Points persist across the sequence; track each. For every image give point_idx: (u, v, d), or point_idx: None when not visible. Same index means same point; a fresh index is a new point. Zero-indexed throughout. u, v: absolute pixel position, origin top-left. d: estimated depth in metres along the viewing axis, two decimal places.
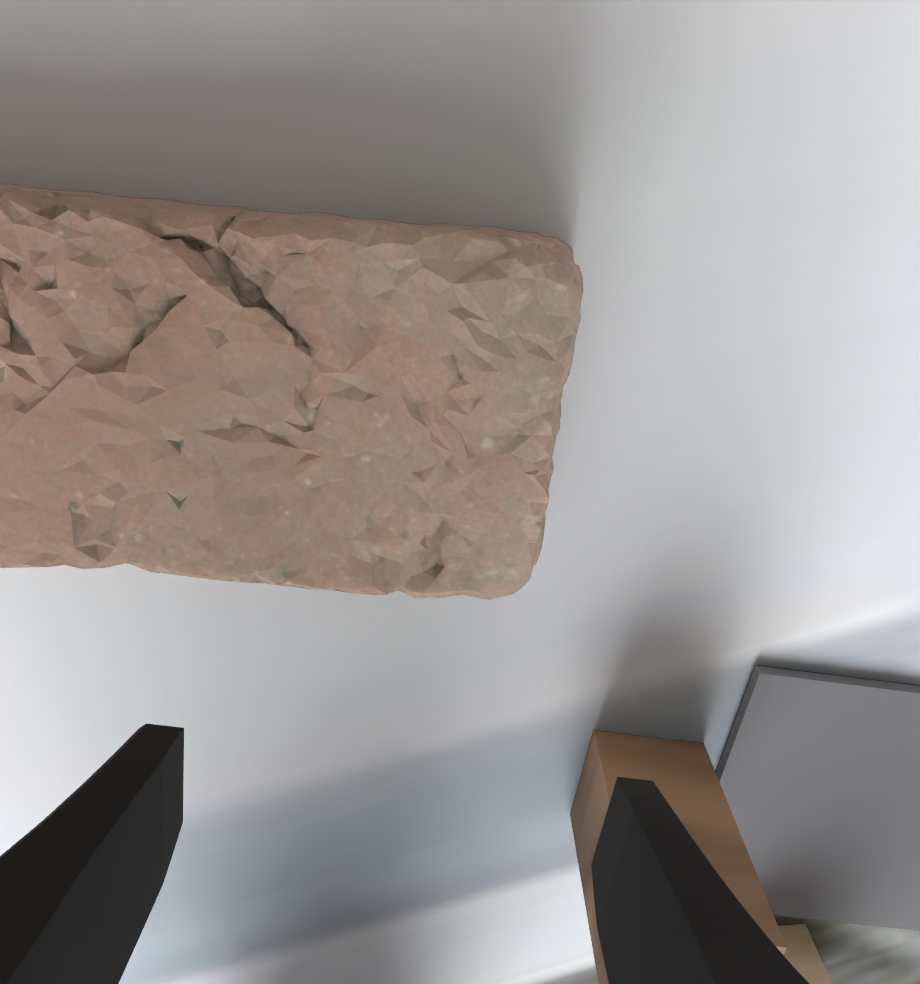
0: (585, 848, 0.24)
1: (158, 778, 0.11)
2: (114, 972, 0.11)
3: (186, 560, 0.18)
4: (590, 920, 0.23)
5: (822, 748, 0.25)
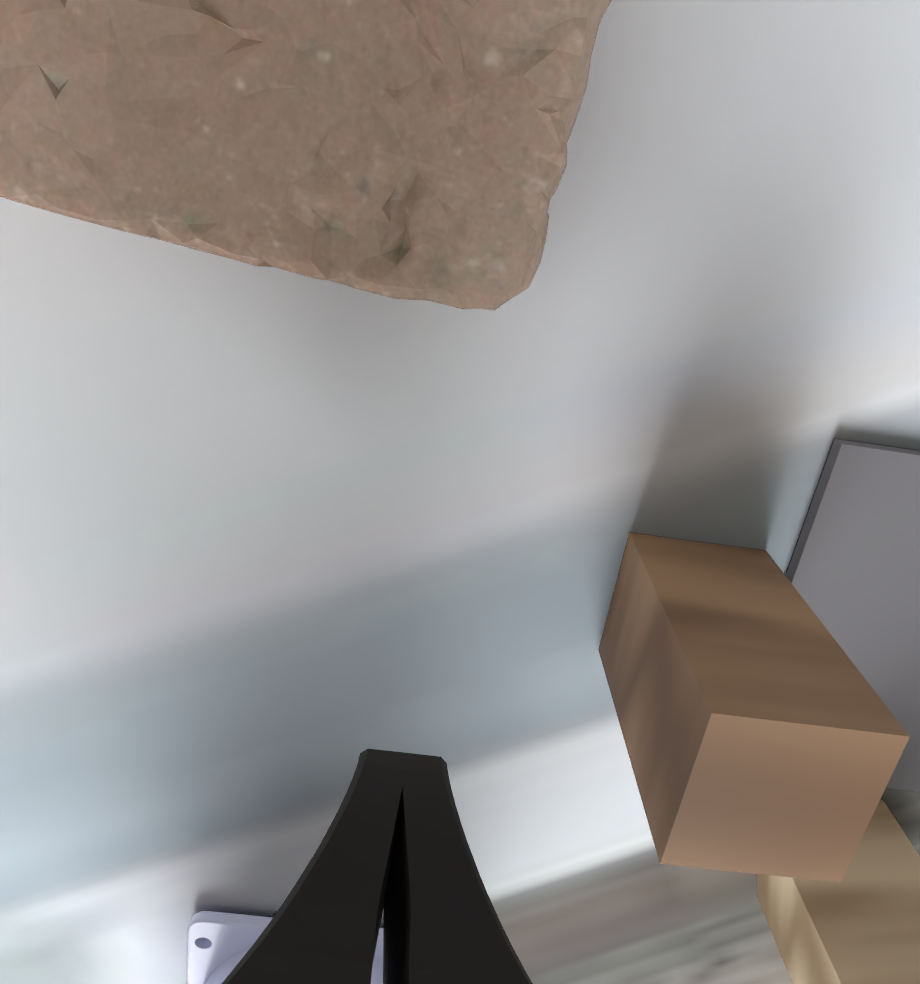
0: (621, 672, 0.19)
1: (398, 804, 0.12)
2: None
3: (58, 185, 0.13)
4: (631, 749, 0.18)
5: (916, 552, 0.20)
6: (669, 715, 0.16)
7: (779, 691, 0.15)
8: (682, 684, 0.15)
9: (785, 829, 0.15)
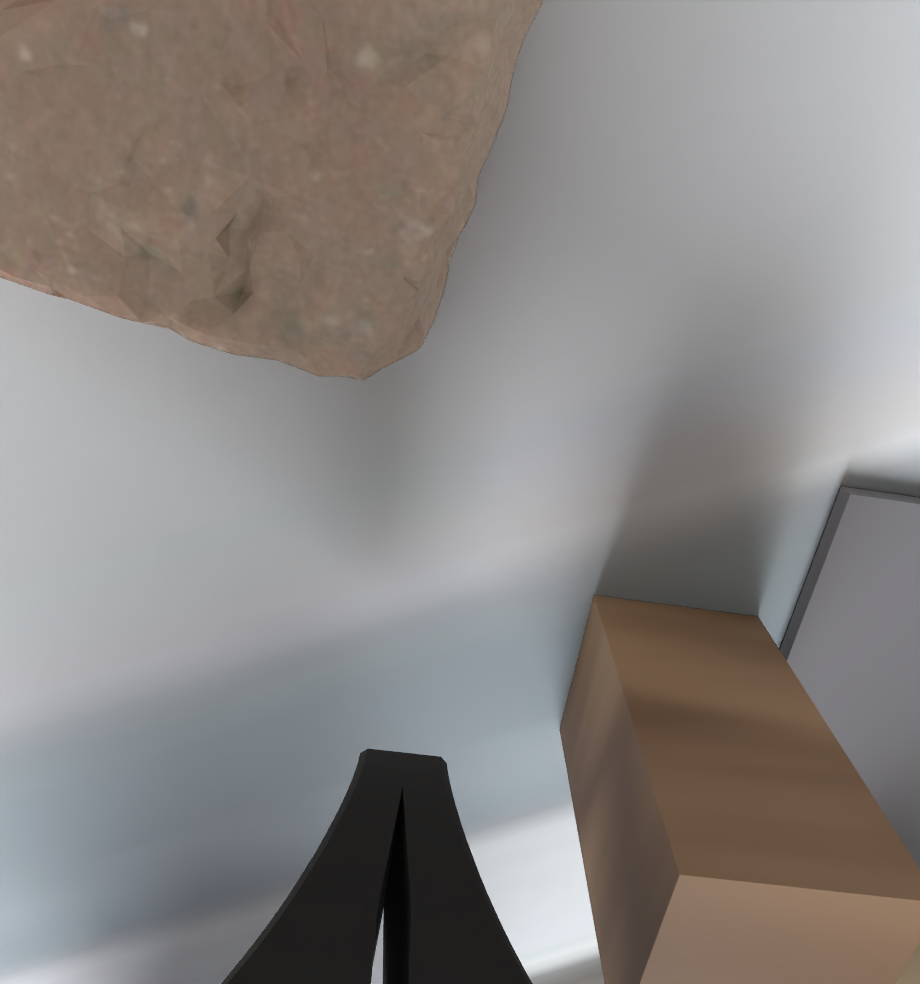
0: (581, 768, 0.16)
1: (398, 804, 0.12)
2: None
3: None
4: (589, 873, 0.14)
5: None
6: (630, 851, 0.12)
7: (770, 834, 0.11)
8: (646, 816, 0.12)
9: None
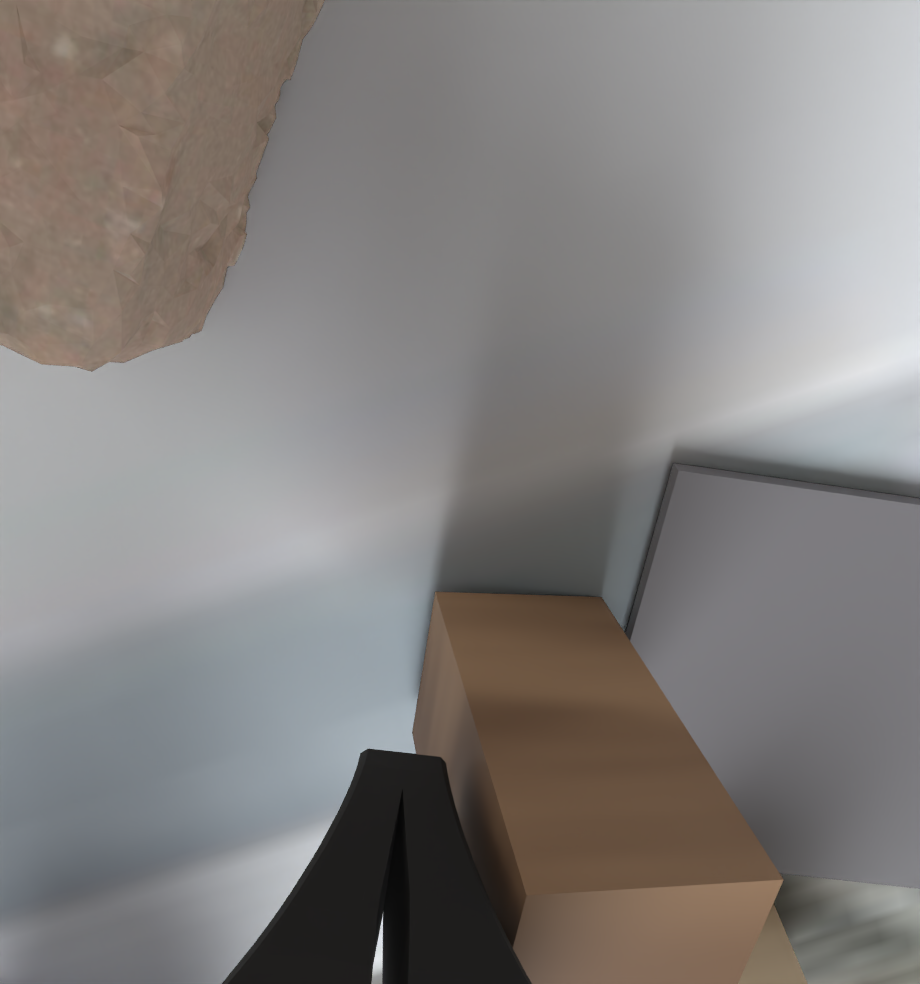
0: None
1: (399, 804, 0.12)
2: None
3: None
4: None
5: (780, 600, 0.16)
6: (481, 867, 0.12)
7: (617, 833, 0.11)
8: (494, 830, 0.11)
9: None
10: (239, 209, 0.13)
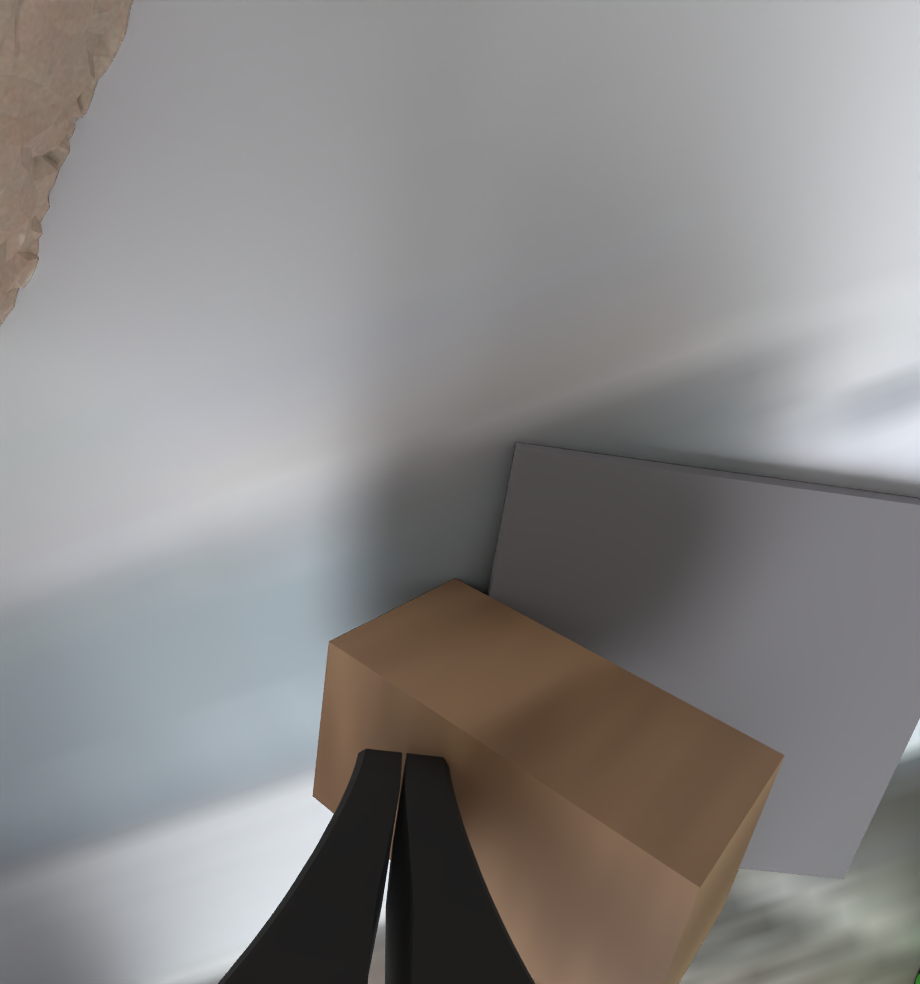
0: None
1: (396, 804, 0.12)
2: None
3: None
4: None
5: (632, 581, 0.16)
6: (574, 886, 0.12)
7: (686, 789, 0.12)
8: (597, 848, 0.11)
9: (709, 915, 0.13)
10: (20, 236, 0.13)
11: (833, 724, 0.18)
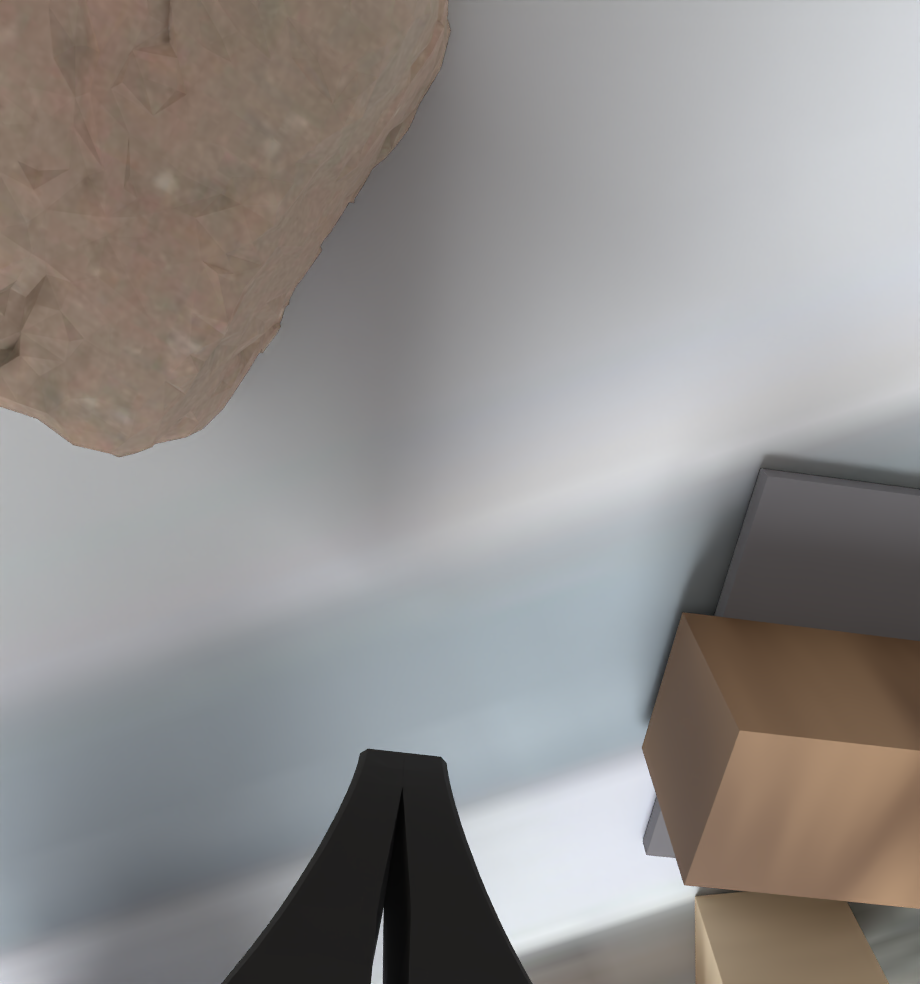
0: (812, 862, 0.14)
1: (398, 804, 0.12)
2: None
3: None
4: (904, 898, 0.15)
5: (865, 604, 0.16)
6: None
7: None
8: None
9: None
10: (281, 311, 0.14)
11: None
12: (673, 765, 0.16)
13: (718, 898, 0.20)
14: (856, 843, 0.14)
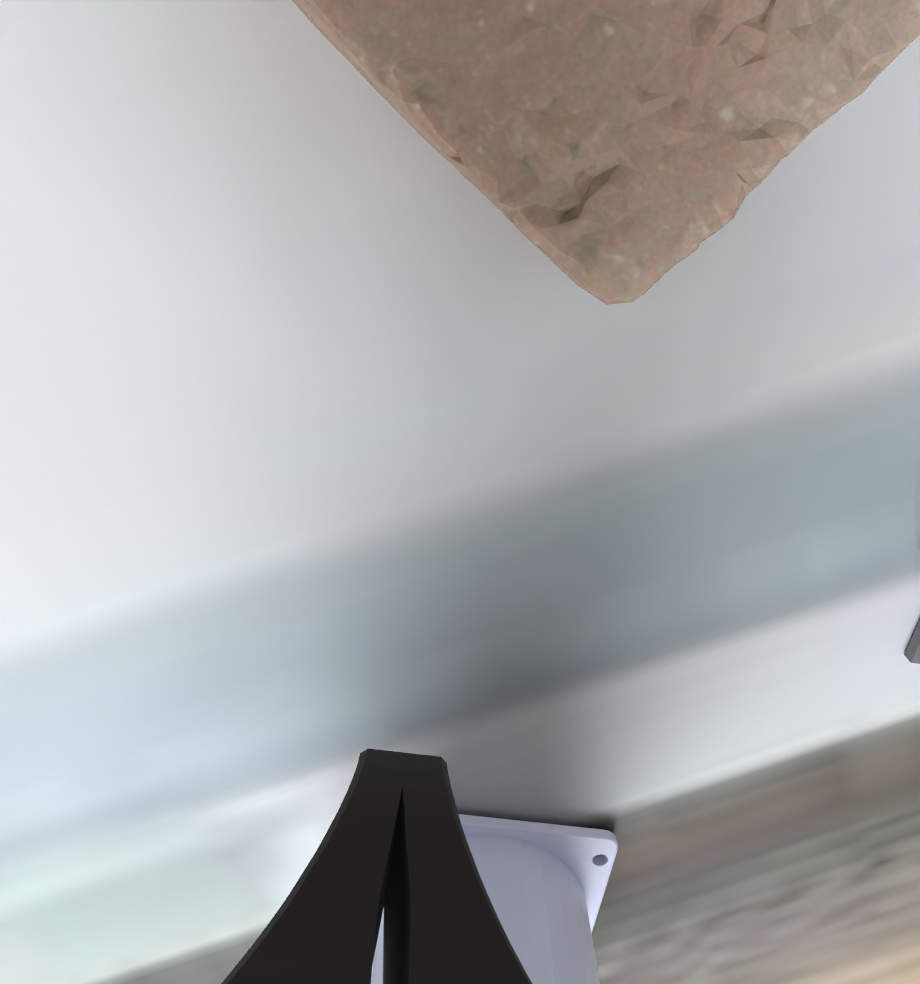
0: None
1: (398, 804, 0.12)
2: None
3: None
4: None
5: None
6: None
7: None
8: None
9: None
10: None
11: None
12: None
13: None
14: None
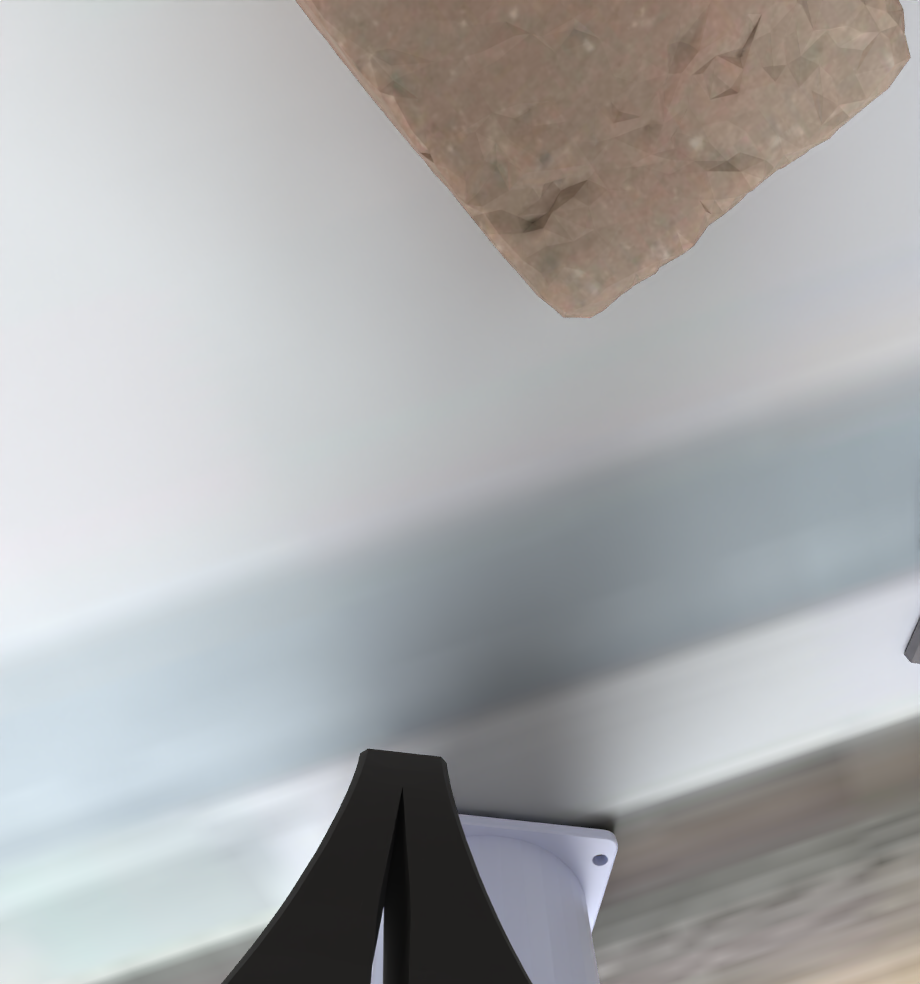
0: None
1: (398, 804, 0.12)
2: None
3: None
4: None
5: None
6: None
7: None
8: None
9: None
10: None
11: None
12: None
13: None
14: None
